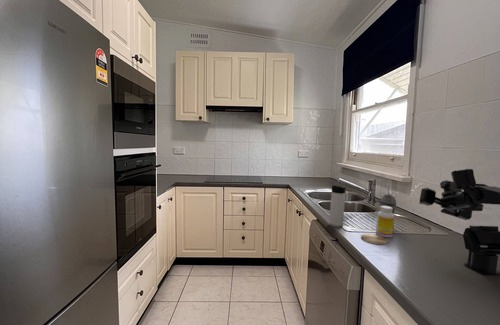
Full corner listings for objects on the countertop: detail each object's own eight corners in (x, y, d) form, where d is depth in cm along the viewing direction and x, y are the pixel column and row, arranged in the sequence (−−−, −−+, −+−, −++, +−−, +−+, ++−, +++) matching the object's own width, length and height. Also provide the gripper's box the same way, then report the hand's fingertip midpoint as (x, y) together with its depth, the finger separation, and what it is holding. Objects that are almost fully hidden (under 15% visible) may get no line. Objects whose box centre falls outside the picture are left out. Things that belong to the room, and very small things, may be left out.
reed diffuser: (379, 226, 121) (383, 186, 120) (376, 221, 128) (379, 184, 126) (396, 228, 119) (399, 187, 117) (392, 223, 126) (395, 185, 124)
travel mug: (326, 224, 121) (328, 184, 120) (336, 222, 124) (338, 183, 122) (335, 228, 116) (338, 186, 114) (345, 227, 118) (348, 186, 117)
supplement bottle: (395, 238, 106) (397, 209, 105) (378, 237, 107) (380, 208, 106) (389, 233, 112) (392, 205, 111) (373, 231, 114) (376, 204, 113)
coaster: (393, 244, 100) (393, 243, 100) (369, 244, 99) (369, 243, 98) (377, 235, 110) (377, 233, 109) (356, 235, 108) (356, 233, 108)
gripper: (488, 190, 92) (454, 198, 107) (439, 171, 94) (412, 181, 108) (486, 218, 88) (451, 222, 103) (434, 197, 90) (407, 204, 105)
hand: (430, 206), depth 105 cm, fingers open, 9 cm apart
